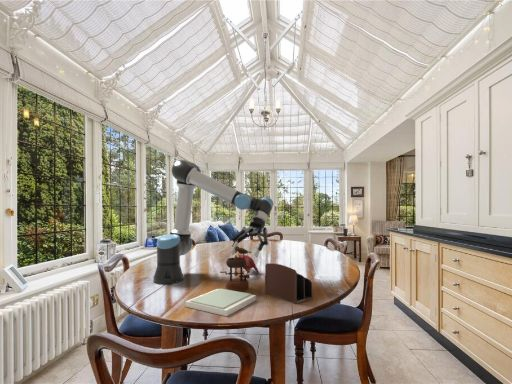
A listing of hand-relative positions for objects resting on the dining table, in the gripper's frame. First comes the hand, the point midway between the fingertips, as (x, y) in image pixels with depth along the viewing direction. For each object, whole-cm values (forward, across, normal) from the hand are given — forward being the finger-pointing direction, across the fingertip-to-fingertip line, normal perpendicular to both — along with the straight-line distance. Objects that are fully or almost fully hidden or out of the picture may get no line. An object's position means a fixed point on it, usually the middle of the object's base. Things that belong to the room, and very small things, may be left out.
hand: (243, 254), depth 144 cm
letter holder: (+13, -24, -9) cm, 29 cm away
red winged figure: (-6, +13, -28) cm, 32 cm away
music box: (+14, +1, -8) cm, 16 cm away
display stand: (+28, -6, +7) cm, 30 cm away
